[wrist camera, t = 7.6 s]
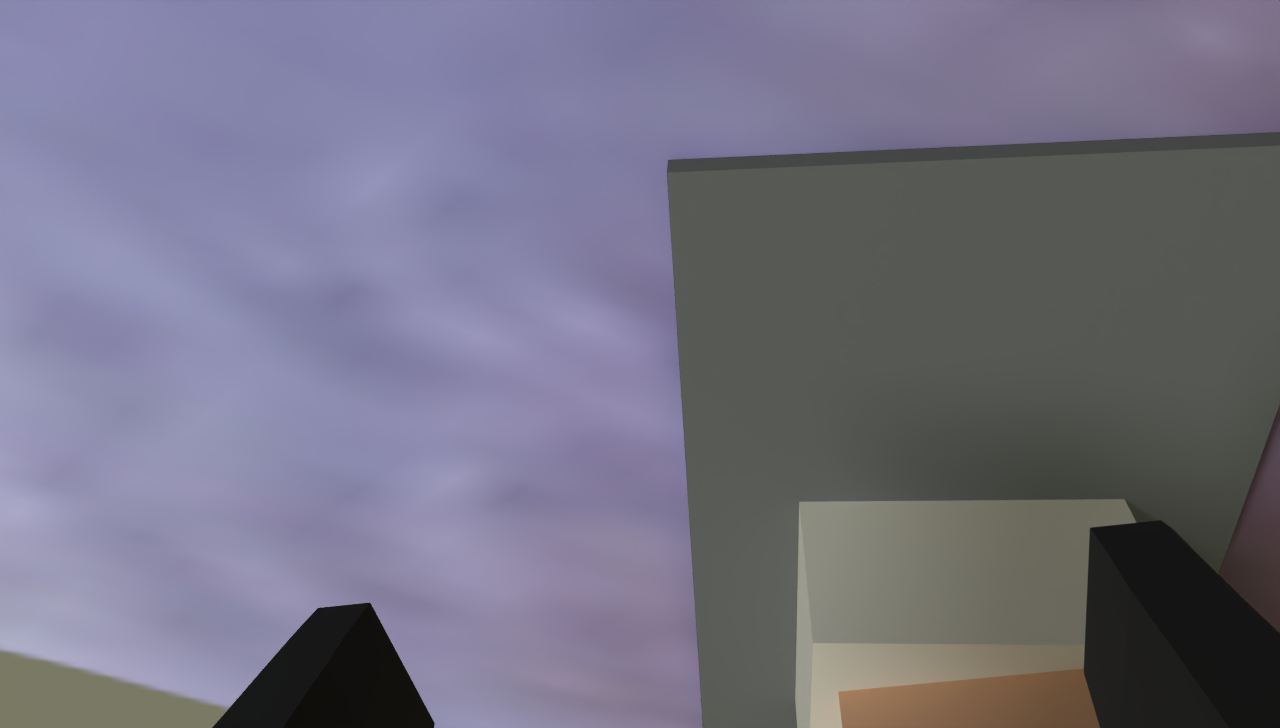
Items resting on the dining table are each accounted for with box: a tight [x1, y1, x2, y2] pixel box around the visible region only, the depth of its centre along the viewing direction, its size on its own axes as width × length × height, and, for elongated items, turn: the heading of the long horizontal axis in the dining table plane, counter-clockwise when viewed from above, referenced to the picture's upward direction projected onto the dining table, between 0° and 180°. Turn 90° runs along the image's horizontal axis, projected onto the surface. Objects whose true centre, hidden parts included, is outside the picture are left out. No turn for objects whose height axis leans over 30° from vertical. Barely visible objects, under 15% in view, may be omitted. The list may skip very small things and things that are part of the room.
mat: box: [667, 132, 1280, 728], centre depth 22 cm, size 12×18×1 cm, turn 4°
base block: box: [795, 499, 1136, 728], centre depth 22 cm, size 7×7×4 cm
